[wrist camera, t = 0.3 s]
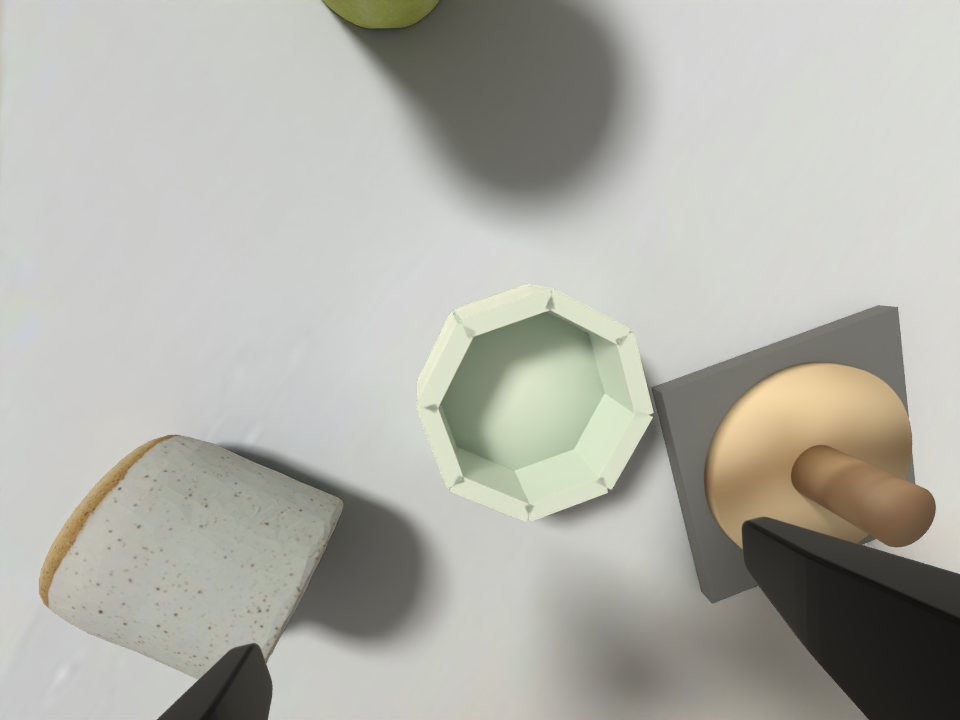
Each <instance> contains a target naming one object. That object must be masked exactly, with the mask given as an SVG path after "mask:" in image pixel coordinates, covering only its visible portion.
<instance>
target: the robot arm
mask: <svg viewBox="0 0 960 720" xmlns="http://www.w3.org/2000/svg"><path fill="white" fill-rule="evenodd" d="M741 531H742V547H743V560H744V564H745V566H746V568H747V570H748V572H749V573H750V575H751V576H752V577H753V579H754V580H755V581H756V583H757V584H758V585H759V587H760V588H761V589H762V591H763V592H764V593H765V595H766V596H767V597H768V599H769V600H770V601H771V603H772V604H773V605H774V607H775V608H776V609H777V611H778V612H779V613H780V615H781V616H782V617H783V619H784V620H785V621H786V623H787V624H788V625H789V627H790V628H791V629H792V631H793V632H794V633H795V635H796V636H797V637H798V639H799V640H800V641H801V642H802V644H803V645H804V646H805V647H806V649H807V650H808V651H809V652H810V654H811V655H812V656H813V657H814V658H815V659H816V661H817V662H818V663H819V664H820V665H821V666H822V667H823V669H824V670H825V671H826V672H827V673H828V674H829V675H830V676H831V678H832V679H833V680H834V681H835V682H836V683H837V684H838V685H839V687H840V688H841V689H842V690H843V691H844V692H845V693H846V694H847V695H848V697H849V698H850V699H851V700H852V701H853V702H854V703H855V704H856V706H857V707H858V708H859V709H860V710H861V711H862V712H863V713H864V715H865V716H866V717H867V718H868V719H869V720H960V574H958V573H954V572H951V571H948V570H944V569H941V568H938V567H934V566H931V565H927V564H924V563H921V562H917V561H914V560H911V559H907V558H904V557H900V556H897V555H894V554H890V553H887V552H884V551H880V550H877V549H874V548H870V547H867V546H863V545H860V544H857V543H853V542H850V541H847V540H843V539H840V538H836V537H833V536H830V535H826V534H823V533H820V532H816V531H813V530H810V529H806V528H803V527H799V526H796V525H793V524H789V523H786V522H783V521H779V520H776V519H772V518H769V517H758V518H754V519H750V520H746V521H745V522H743V524H742V529H741ZM271 699H272V680H271V677H270V674H269V671H268V668H267V665H266V662H265V659H264V656H263V653H262V650H261V648H260V646H259V645H258V644H256V643H250V644H246V645H242V646H238V647H234V648H232V649H230V650H229V651H228V652H227V653H226V654H225V655H224V656H223V657H222V658H221V659H220V660H219V661H217V662H216V663H215V664H214V665H213V666H212V667H211V668H210V669H209V670H208V671H207V672H206V673H205V674H204V675H203V676H202V677H201V678H200V679H199V680H198V681H197V682H196V683H195V684H194V685H193V686H191V687H190V688H189V689H188V690H187V691H186V692H185V693H184V694H183V695H182V696H181V697H180V698H179V699H178V700H177V701H176V702H175V703H174V704H173V705H172V706H171V707H170V708H169V709H168V710H166V711H165V712H164V713H163V714H162V715H161V716H160V717H159V718H158V719H157V720H268V716H269V710H270V705H271Z"/></svg>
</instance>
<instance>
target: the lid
mask: <svg viewBox="0 0 960 720" xmlns="http://www.w3.org/2000/svg"><path fill="white" fill-rule="evenodd" d="M911 454H912V433H911V427H910V421H909V418H908V415H907V412H906V410H905V408H904V406H903V404H902V402H901V400H900V398H899V397H898V396H897V394H896V393H895V392H894V390H893V389H892V388H891V387H890V386H889V385H888V384H887V383H885V382H884V381H883V380H881V379H880V378H878V377H877V376H875V375H873V374H871V373H869V372H867V371H864V370H861V369H857V368H854V367H850V366H845V365H841V364H837V363H830V362H807V363H801V364H796V365H793V366H789V367H786V368H783V369H781V370H779V371H776V372H774V373H772V374H770V375H768V376H767V377H765V378H763V379H762V380H760V381H759V382H757V383H756V384H755V385H753V386H752V387H751V388H749V389H748V390H747V391H746V392H745V393H744V394H743V395H742V396H741V397H740V398H739V399H738V400H737V401H736V402H735V403H734V404H733V405H732V407H731V408H730V409H729V410H728V412H727V413H726V415H725V416H724V418H723V419H722V421H721V422H720V424H719V426H718V428H717V430H716V432H715V434H714V436H713V438H712V441H711V444H710V446H709V449H708V453H707V457H706V462H705V470H704V488H705V495H706V500H707V503H708V507H709V510H710V512H711V514H712V516H713V518H714V520H715V522H716V523H717V524H718V526H719V527H720V529H721V530H722V531H723V532H724V533H725V534H726V535H727V536H728V537H729V538H730V539H731V540H732V541H733V542H735V543H736V544H737V545H738V546H739V547H740V548H742V549H743V547H742V531H741V529H742V524H743V522H745V521H746V520H750V519H754V518H758V517H769V518H772V519H776V520H779V521H783V522H786V523H789V524H793V525H796V526H799V527H803V528H806V529H810V530H813V531H816V532H820V533H823V534H826V535H830V536H833V537H836V538H840V539H843V540H847V541H850V542H853V543H859V542H860V541H861V540H863V539H864V538H865V537H866V536H867V535H871V536H873V537H874V538H876V539H878V540H879V541H881V542H883V543H884V544H886V545H888V546H891V547H903V546H907V545H910V544H912V543H914V542H915V541H917V540H918V539H920V538H921V537H922V536H923V535H924V534H925V533H926V532H927V530H928V529H929V527H930V526H931V524H932V522H933V519H934V516H935V510H936V505H935V500H934V498H933V496H932V494H931V493H930V492H929V491H928V490H926V489H925V488H923V487H920V486H918V485H916V484H913V483H911V482H909V481H907V480H906V477H907V474H908V471H909V466H910V461H911Z"/></svg>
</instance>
